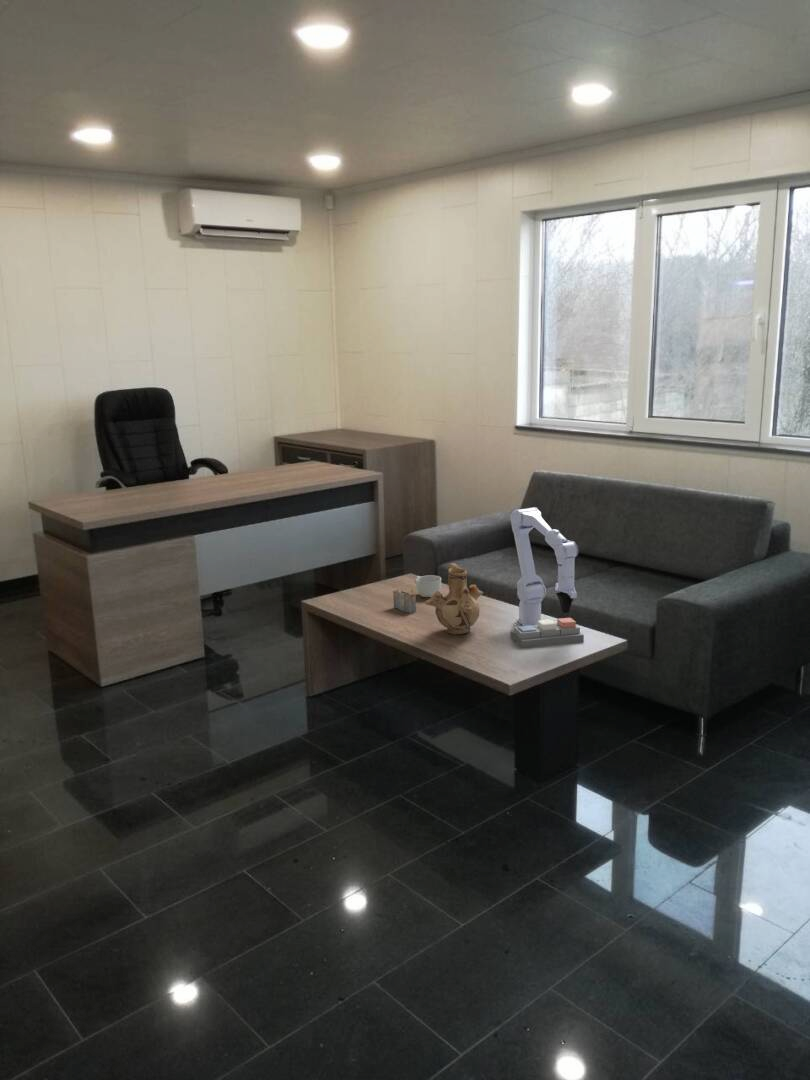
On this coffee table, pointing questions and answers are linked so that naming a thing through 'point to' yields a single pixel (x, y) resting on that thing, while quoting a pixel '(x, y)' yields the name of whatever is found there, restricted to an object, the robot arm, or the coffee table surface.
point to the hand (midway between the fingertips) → (565, 612)
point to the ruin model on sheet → (405, 601)
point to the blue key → (526, 628)
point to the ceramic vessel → (457, 602)
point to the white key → (546, 624)
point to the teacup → (428, 585)
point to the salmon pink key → (566, 623)
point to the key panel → (547, 636)
